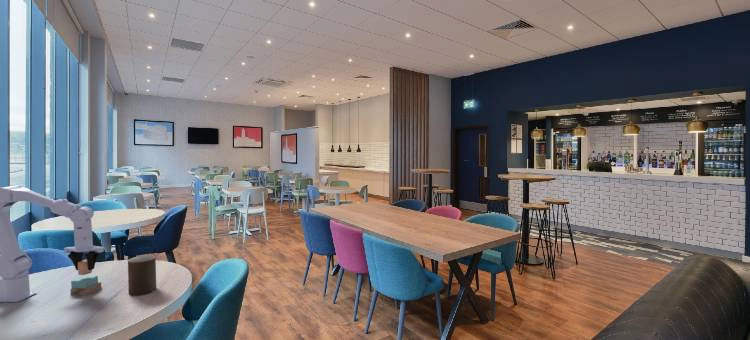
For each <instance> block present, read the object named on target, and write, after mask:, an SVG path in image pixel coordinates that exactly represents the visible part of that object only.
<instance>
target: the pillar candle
mask: <svg viewBox="0 0 750 340" xmlns="http://www.w3.org/2000/svg"><path fill="white" fill-rule="evenodd" d="M156 262H157V261H156V256H155V255H139V256H135V257H131V258H129V259H128V260H127V272H128V273H127V276H128V278H127V280H128V281H127V285H128V287H127V288H128V289H127V290H128V294H129V296H143V295H144V296H145V295H148V294H151V293H153V292H155V291H156V290H157V263H156Z"/></svg>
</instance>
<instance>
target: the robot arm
mask: <svg viewBox="0 0 750 340" xmlns="http://www.w3.org/2000/svg"><path fill="white" fill-rule="evenodd" d="M25 201H26V202H29V203H31V204H36V205H39V206H41V207H45V208H49V210H50V212H51V213H54V214H56V215H59V216H61V217H65V218H67V219H69V220H70V221H71V222H72V223H73V239H74V241H73V242H74V246H67V247H64V248H63V253H64V254H65V253H66V254H67V257H68V258H69V259H70V261H71V262H72V263H73V265H74V268H75V270H76V271H78V261H81V260H83V256H85V260H86V259H87V262H88V269H89V270H92V271H93V270H94V269H95V265H96V262H97V259H98V257H99V256H100V254H102V252H104V251H105V246H99V245H98V246H97V245H94V244H93V242H94V239H93V225H92V224H93V223H92V218H93V217H94V214H95V213H94V210H93V208H91V207H90V206H88V205H87V206H86V205H85V206H81V204H76V203H72V202H70V201H69V200H68V199H67V198H64V199H63V198H60V199H52V198H50V197H48V196H46V195H44V194H41V193H38V192H36V191H33V190H31V189H29V188H28V187H23V186H21V185H17V184H15V185H14V184H12V185H10V186H5V187H4V186H3V187H0V303H9V302H11V303H12V302H13V303H16V302H21V301H23V300H25V299H27V298H29V297H32V296H34V295H36V294H37V292H36V291H34V292H33V291H31V289H30V288H31V287H30V274H29V273H30V272H29V271H30V268H31V267H32V265H33V260H32V258H30V257H29V255H27V252H26V251H25V250H23V249H21V247H20V245H19V241H18V239H17V236H16V232H15V231H14V227H13V224H12V222H11V219H10V215H9V210H10V209H11V208H12V207H13V206H14V205H15V204H16V203H18V202H25ZM68 253H69V254H68ZM84 253H86V254H84Z"/></svg>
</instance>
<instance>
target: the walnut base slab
mask: <svg viewBox="0 0 750 340" xmlns="http://www.w3.org/2000/svg"><path fill="white" fill-rule="evenodd" d="M100 289H102V281H98V283H97V284H94V285H92V286H90V287H88V288H86V289H84V288H72V287H71V288H70V296H89V295H91V294H94V293H95V292H96V291H99V290H100Z"/></svg>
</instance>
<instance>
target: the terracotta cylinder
mask: <svg viewBox="0 0 750 340" xmlns="http://www.w3.org/2000/svg"><path fill="white" fill-rule="evenodd" d="M77 273H78V275H79V276H86V275H89V274H92V273H93V269H92V270H89V269H88V262H87V259H86V258H85V259H82V260H81V261H78V270H77Z"/></svg>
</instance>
